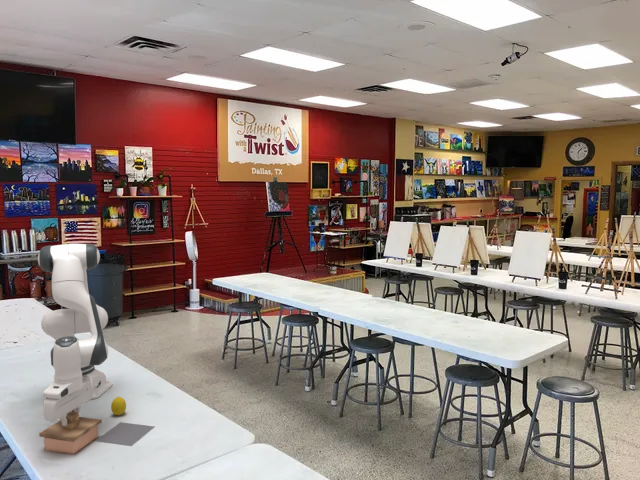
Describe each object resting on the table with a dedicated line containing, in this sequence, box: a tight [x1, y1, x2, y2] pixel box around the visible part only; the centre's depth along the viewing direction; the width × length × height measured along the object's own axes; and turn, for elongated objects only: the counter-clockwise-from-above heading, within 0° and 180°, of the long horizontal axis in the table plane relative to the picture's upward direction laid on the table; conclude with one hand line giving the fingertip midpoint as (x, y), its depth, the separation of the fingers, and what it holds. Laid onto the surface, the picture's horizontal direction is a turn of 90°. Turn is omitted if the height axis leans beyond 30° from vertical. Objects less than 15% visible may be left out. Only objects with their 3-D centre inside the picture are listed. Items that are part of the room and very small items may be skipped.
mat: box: [94, 422, 156, 447], centre depth 187 cm, size 15×15×1 cm
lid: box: [38, 412, 103, 441], centre depth 179 cm, size 14×14×6 cm
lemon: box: [110, 396, 127, 416], centre depth 202 cm, size 6×6×8 cm
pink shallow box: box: [43, 426, 99, 456], centre depth 180 cm, size 12×12×5 cm
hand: (70, 421), depth 179 cm, fingers closed on lid, 4 cm apart
